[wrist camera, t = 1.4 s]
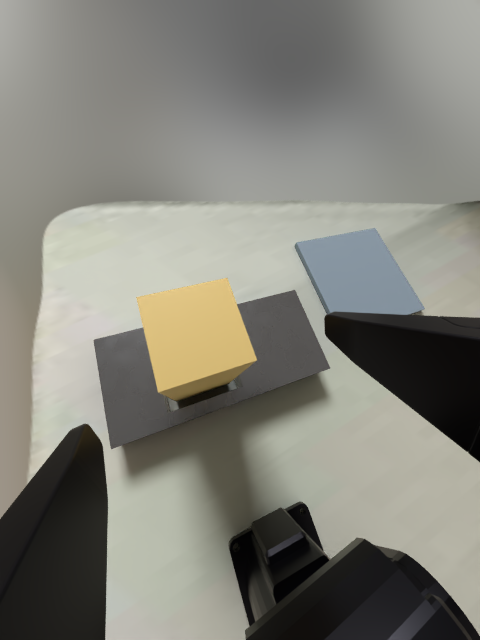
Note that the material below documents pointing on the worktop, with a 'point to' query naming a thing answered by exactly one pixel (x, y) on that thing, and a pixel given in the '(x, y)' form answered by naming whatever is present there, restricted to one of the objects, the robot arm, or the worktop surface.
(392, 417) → the worktop surface
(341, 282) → the slate mat
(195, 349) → the mustard block
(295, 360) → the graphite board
